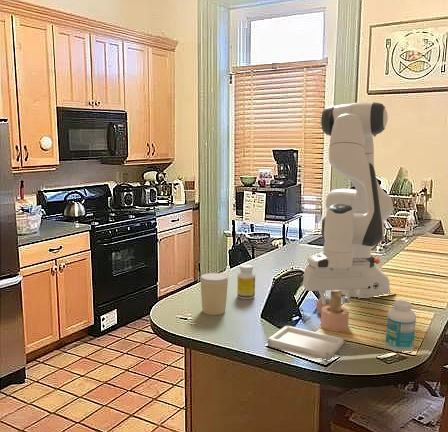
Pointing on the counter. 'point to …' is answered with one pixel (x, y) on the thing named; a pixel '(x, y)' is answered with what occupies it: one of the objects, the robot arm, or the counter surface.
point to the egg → (321, 305)
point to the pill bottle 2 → (400, 327)
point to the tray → (306, 342)
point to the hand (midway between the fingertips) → (335, 303)
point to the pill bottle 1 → (246, 282)
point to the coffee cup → (214, 293)
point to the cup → (334, 319)
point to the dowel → (335, 301)
